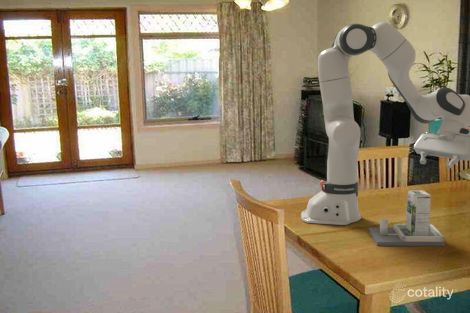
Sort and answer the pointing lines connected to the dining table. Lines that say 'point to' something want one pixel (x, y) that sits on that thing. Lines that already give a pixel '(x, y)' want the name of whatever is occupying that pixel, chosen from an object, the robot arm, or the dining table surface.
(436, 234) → the grey holder tray
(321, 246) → the dining table surface
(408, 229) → the syrup box
